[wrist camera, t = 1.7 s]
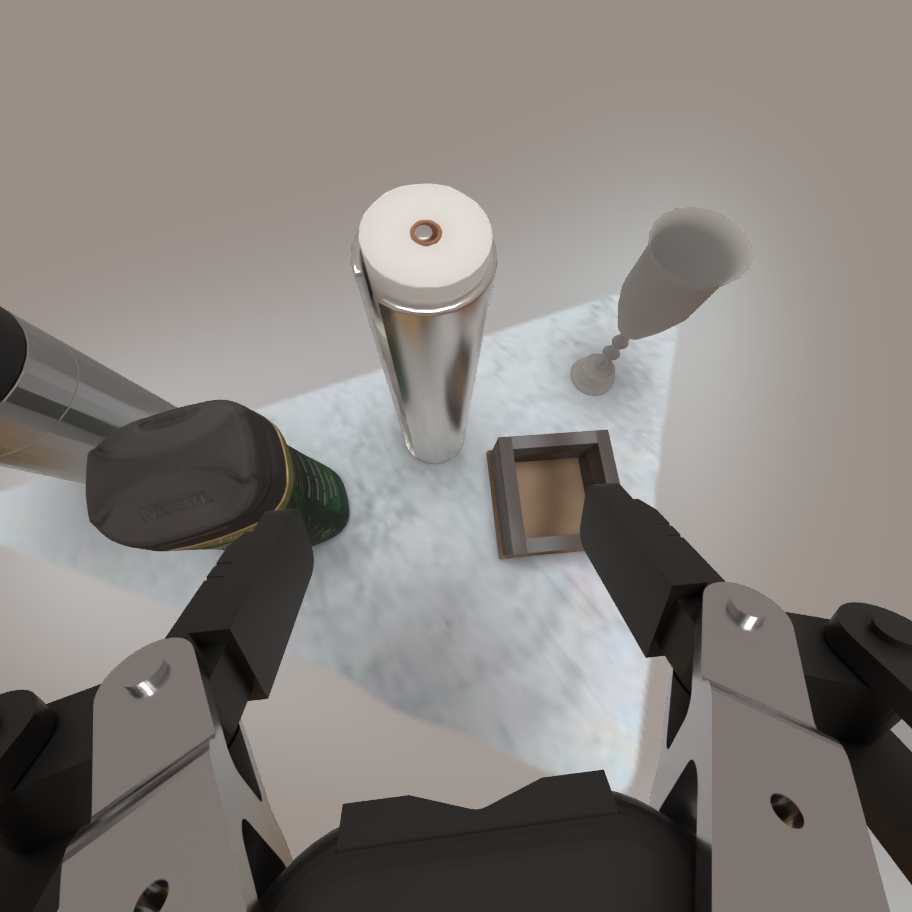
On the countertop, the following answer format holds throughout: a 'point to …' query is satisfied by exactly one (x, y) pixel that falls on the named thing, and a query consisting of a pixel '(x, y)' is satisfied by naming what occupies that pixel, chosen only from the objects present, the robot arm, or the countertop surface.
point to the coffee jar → (205, 480)
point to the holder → (545, 489)
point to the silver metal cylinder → (427, 306)
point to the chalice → (669, 283)
